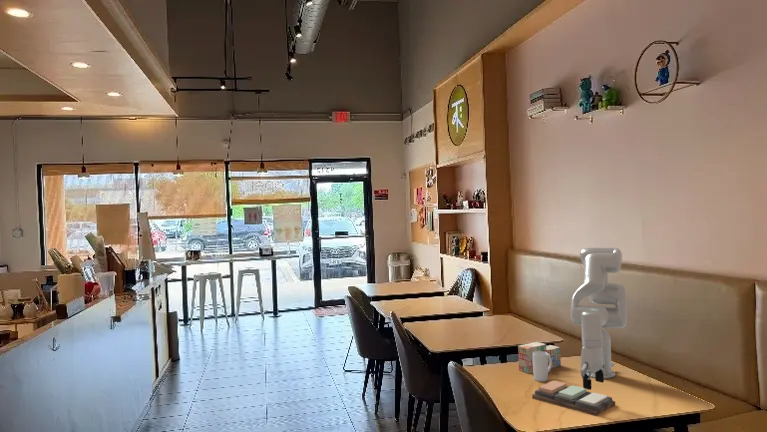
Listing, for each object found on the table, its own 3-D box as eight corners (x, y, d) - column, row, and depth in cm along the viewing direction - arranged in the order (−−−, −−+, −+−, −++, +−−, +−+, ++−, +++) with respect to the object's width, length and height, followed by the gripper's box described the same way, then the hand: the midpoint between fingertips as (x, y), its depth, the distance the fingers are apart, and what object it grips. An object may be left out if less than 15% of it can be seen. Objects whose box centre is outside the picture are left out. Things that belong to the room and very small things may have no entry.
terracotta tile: (553, 384, 236) (553, 380, 236) (566, 387, 232) (566, 383, 232) (539, 390, 229) (538, 387, 229) (552, 394, 224) (551, 390, 224)
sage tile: (572, 389, 229) (572, 385, 229) (586, 392, 225) (586, 388, 225) (558, 395, 222) (558, 392, 222) (572, 399, 218) (572, 395, 218)
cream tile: (593, 396, 223) (593, 392, 223) (607, 399, 218) (607, 395, 218) (579, 403, 215) (579, 399, 215) (594, 407, 211) (594, 403, 211)
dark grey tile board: (551, 388, 239) (551, 382, 239) (615, 405, 218) (615, 397, 218) (532, 398, 229) (532, 390, 229) (596, 415, 208) (596, 408, 208)
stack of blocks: (551, 363, 276) (550, 338, 276) (561, 366, 271) (560, 341, 271) (518, 370, 267) (517, 345, 266) (527, 374, 261) (526, 348, 261)
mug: (540, 382, 248) (539, 356, 247) (530, 378, 254) (529, 352, 253) (557, 378, 252) (556, 352, 252) (547, 374, 258) (546, 349, 258)
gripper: (593, 335, 225) (595, 377, 226) (571, 345, 213) (573, 389, 214) (611, 339, 219) (613, 381, 220) (590, 349, 208) (591, 394, 209)
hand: (593, 385), depth 217 cm, fingers open, 9 cm apart
